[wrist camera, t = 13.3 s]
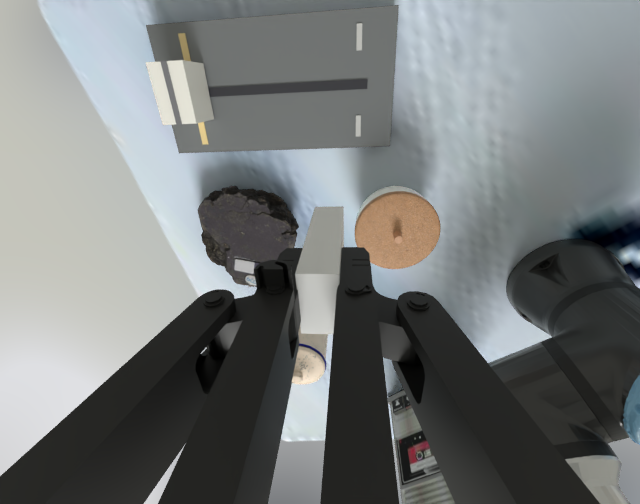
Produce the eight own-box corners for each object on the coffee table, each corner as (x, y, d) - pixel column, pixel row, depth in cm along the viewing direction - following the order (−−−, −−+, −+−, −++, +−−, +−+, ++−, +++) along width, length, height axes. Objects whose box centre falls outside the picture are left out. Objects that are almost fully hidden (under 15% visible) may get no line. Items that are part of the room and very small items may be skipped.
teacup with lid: (274, 316, 57) (258, 365, 47) (319, 305, 55) (311, 354, 45) (299, 359, 62) (288, 412, 52) (340, 350, 60) (338, 404, 50)
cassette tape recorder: (441, 368, 60) (492, 529, 38) (459, 384, 62) (518, 547, 40) (386, 396, 65) (403, 551, 44) (403, 410, 67) (429, 566, 45)
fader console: (394, 11, 34) (398, 5, 31) (387, 142, 41) (390, 146, 38) (160, 29, 37) (145, 25, 34) (189, 149, 43) (178, 153, 41)
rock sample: (185, 210, 49) (169, 222, 44) (260, 157, 43) (251, 165, 39) (253, 288, 55) (245, 305, 51) (326, 250, 50) (323, 265, 45)
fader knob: (203, 63, 35) (181, 59, 31) (214, 119, 38) (195, 123, 34) (170, 65, 36) (144, 62, 31) (184, 120, 38) (162, 125, 34)
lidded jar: (368, 252, 49) (371, 285, 41) (343, 193, 45) (341, 217, 36) (435, 230, 46) (453, 261, 38) (415, 164, 42) (431, 183, 34)
